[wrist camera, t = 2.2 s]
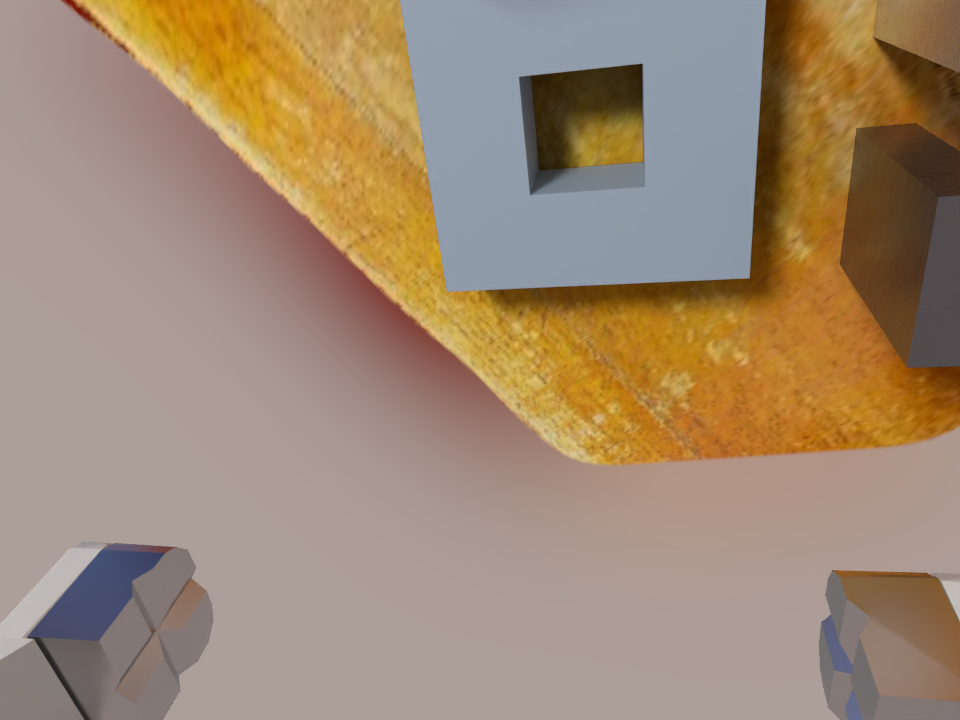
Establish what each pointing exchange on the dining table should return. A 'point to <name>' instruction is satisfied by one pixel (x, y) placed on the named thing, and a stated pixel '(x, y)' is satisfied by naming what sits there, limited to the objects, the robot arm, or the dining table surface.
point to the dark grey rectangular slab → (907, 239)
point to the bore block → (595, 189)
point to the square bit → (922, 28)
